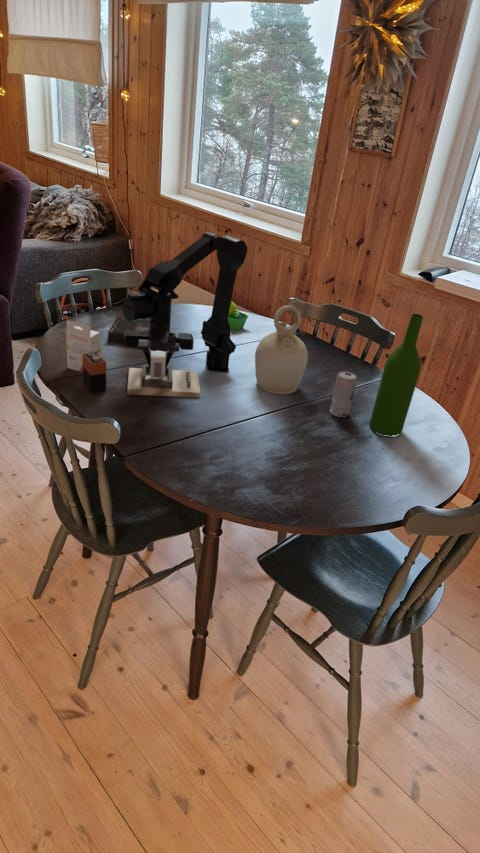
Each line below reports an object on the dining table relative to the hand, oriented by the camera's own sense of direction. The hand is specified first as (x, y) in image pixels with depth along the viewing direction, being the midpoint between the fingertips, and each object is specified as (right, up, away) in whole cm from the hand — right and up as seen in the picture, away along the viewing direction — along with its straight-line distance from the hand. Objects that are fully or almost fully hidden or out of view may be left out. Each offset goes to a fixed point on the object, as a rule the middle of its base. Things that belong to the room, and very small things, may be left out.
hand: (157, 367), depth 159 cm
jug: (+34, -4, +11) cm, 36 cm away
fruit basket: (+19, +21, +52) cm, 59 cm away
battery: (-17, -6, -4) cm, 18 cm away
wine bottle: (+63, -17, -5) cm, 66 cm away
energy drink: (+51, -13, 0) cm, 53 cm away
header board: (+1, -4, +3) cm, 5 cm away
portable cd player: (-11, +14, +33) cm, 37 cm away
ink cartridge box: (-22, 0, +6) cm, 23 cm away
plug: (0, -1, +1) cm, 2 cm away
